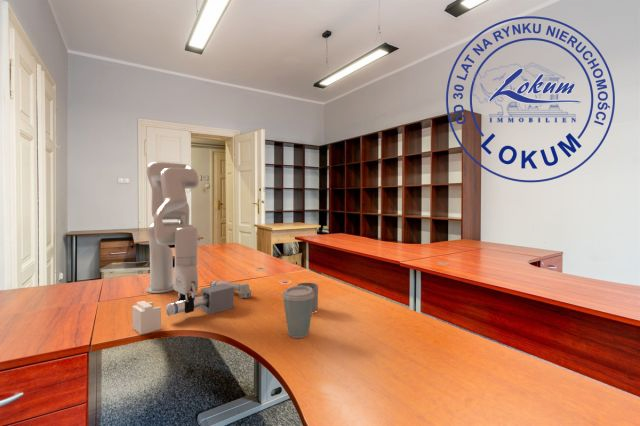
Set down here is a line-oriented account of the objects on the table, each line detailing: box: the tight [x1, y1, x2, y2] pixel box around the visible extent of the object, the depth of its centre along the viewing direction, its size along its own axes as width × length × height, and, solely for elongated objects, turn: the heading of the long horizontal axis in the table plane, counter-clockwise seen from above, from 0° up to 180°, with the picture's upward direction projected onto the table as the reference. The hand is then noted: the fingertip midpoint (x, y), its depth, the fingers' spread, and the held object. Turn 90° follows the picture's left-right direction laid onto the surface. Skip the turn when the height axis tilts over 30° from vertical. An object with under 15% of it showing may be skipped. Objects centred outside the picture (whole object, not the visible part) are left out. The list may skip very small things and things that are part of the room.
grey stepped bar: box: [209, 280, 252, 299], centre depth 145 cm, size 5×7×25 cm
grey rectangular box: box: [200, 284, 235, 315], centre depth 125 cm, size 7×10×8 cm
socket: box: [132, 300, 162, 335], centre depth 105 cm, size 8×6×8 cm
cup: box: [296, 282, 319, 312], centre depth 125 cm, size 8×8×10 cm
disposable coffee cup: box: [281, 285, 315, 339], centre depth 103 cm, size 11×11×15 cm
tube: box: [165, 294, 209, 316], centre depth 119 cm, size 4×22×4 cm, turn 139°
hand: (186, 309), depth 115 cm, fingers closed on tube, 4 cm apart
